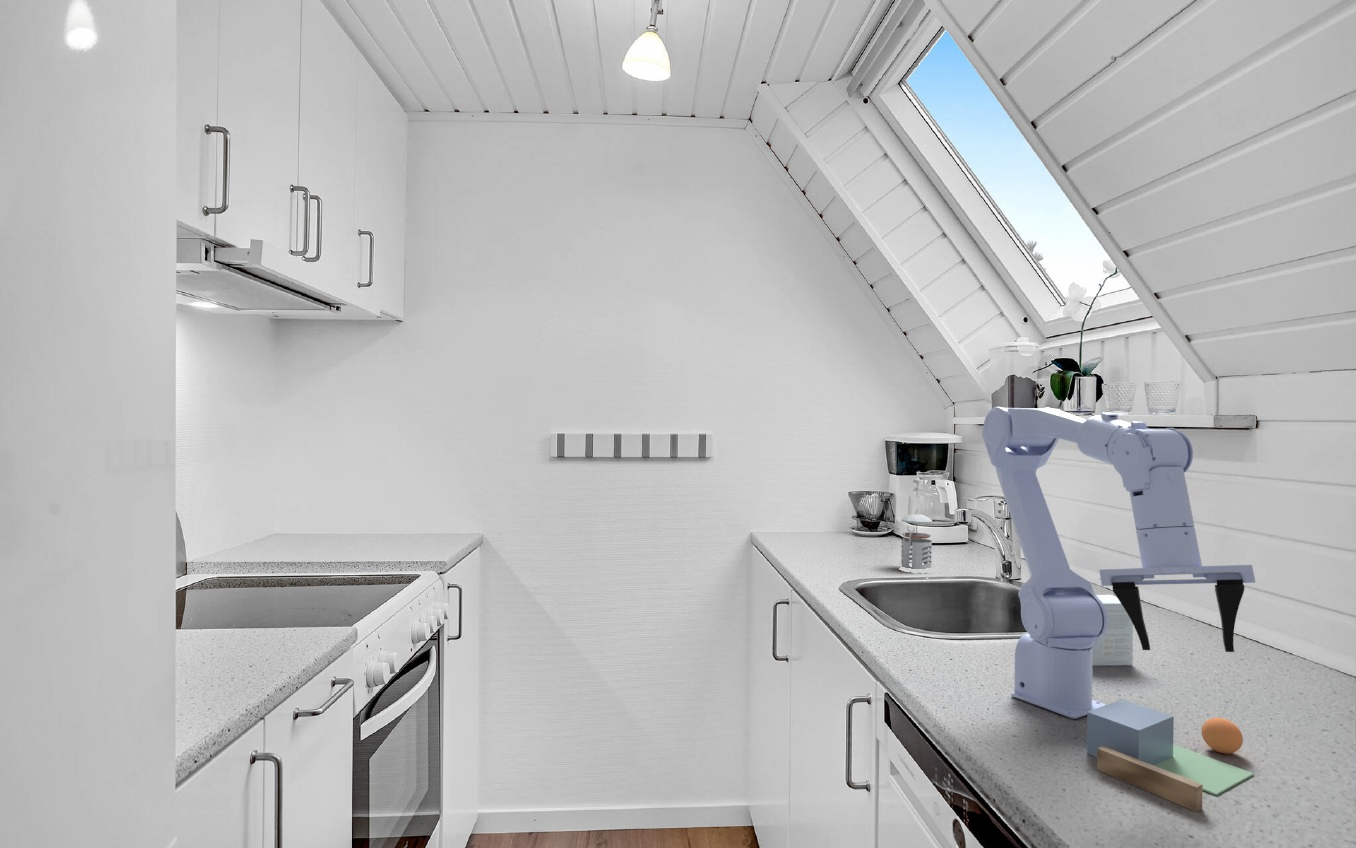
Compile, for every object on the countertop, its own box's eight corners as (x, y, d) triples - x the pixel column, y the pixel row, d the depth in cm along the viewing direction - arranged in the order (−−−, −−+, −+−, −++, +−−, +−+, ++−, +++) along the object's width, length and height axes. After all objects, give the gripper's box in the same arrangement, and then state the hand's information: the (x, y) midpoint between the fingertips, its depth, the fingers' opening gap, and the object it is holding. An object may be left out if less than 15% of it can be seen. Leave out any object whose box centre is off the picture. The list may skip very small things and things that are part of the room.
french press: (940, 570, 191) (941, 478, 191) (924, 577, 182) (925, 480, 182) (905, 565, 197) (906, 476, 197) (888, 571, 189) (889, 478, 189)
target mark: (1127, 760, 83) (1127, 758, 83) (1166, 743, 88) (1166, 742, 88) (1216, 795, 75) (1216, 793, 75) (1253, 775, 80) (1253, 773, 80)
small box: (1111, 655, 121) (1112, 594, 121) (1133, 666, 116) (1134, 602, 116) (1066, 655, 121) (1066, 594, 121) (1086, 666, 116) (1086, 602, 116)
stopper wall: (1097, 769, 81) (1097, 748, 81) (1102, 767, 81) (1103, 745, 81) (1196, 812, 72) (1196, 787, 72) (1202, 808, 73) (1202, 784, 73)
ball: (1194, 749, 86) (1195, 716, 86) (1210, 741, 88) (1210, 710, 88) (1233, 762, 83) (1234, 728, 83) (1248, 755, 85) (1249, 721, 85)
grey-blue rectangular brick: (1086, 753, 85) (1087, 712, 85) (1121, 739, 89) (1122, 699, 89) (1138, 774, 80) (1138, 730, 80) (1173, 758, 84) (1173, 716, 84)
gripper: (1090, 531, 83) (1109, 651, 80) (1245, 522, 75) (1273, 655, 72) (1096, 534, 89) (1114, 646, 86) (1240, 526, 81) (1266, 649, 78)
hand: (1186, 650), depth 79 cm, fingers open, 7 cm apart
